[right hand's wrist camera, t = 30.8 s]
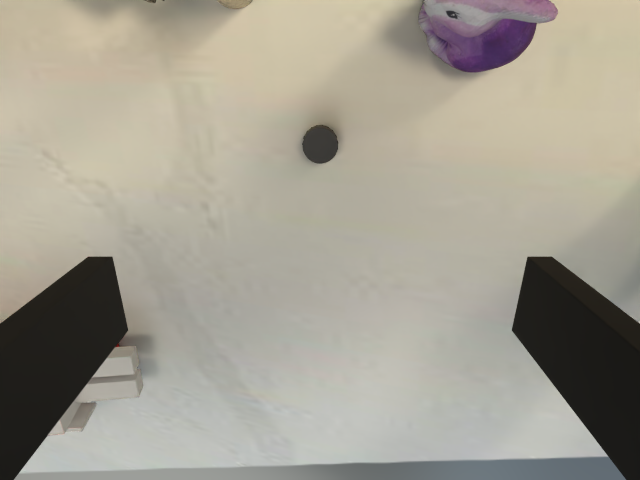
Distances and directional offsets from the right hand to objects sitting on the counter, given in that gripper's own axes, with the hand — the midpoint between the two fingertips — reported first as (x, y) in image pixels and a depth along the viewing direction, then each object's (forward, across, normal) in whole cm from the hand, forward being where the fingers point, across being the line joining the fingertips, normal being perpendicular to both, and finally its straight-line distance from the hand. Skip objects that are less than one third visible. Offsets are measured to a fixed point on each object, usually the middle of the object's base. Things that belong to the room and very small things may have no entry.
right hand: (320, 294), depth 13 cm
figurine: (+33, -14, -11) cm, 38 cm away
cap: (+31, 0, 0) cm, 31 cm away
